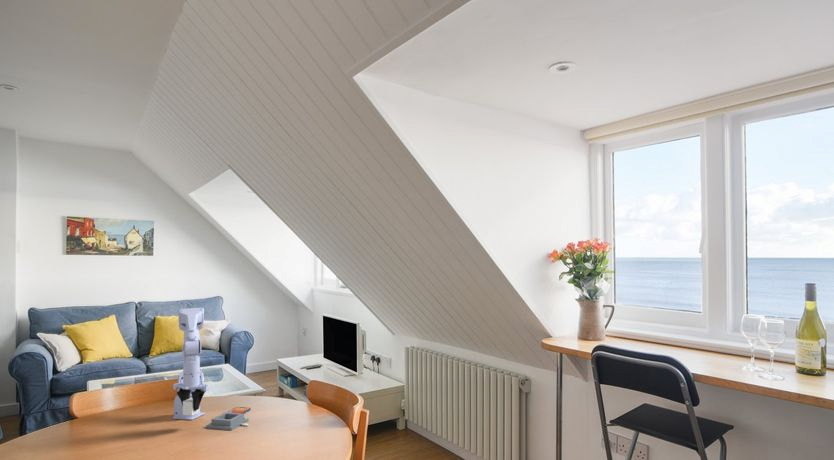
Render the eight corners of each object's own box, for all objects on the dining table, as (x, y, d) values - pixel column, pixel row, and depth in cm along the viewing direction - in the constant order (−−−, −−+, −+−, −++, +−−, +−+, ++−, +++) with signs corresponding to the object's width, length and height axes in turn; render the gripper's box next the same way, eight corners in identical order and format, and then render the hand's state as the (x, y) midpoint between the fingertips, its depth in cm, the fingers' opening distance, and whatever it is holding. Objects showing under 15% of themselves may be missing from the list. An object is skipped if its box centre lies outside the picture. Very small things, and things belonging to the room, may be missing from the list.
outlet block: (206, 428, 186) (206, 420, 186) (224, 418, 197) (224, 411, 197) (239, 431, 183) (239, 422, 183) (256, 421, 193) (256, 413, 193)
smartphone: (214, 421, 195) (214, 419, 195) (235, 409, 210) (235, 406, 210) (231, 422, 194) (231, 419, 194) (251, 410, 209) (251, 407, 209)
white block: (182, 414, 185) (182, 401, 185) (190, 411, 189) (190, 398, 189) (191, 415, 184) (191, 401, 184) (199, 412, 188) (199, 398, 188)
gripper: (167, 374, 185) (167, 411, 184) (200, 376, 182) (200, 413, 181) (181, 370, 192) (180, 405, 191) (213, 371, 188) (212, 408, 188)
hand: (191, 409), depth 187 cm, fingers closed on white block, 4 cm apart
